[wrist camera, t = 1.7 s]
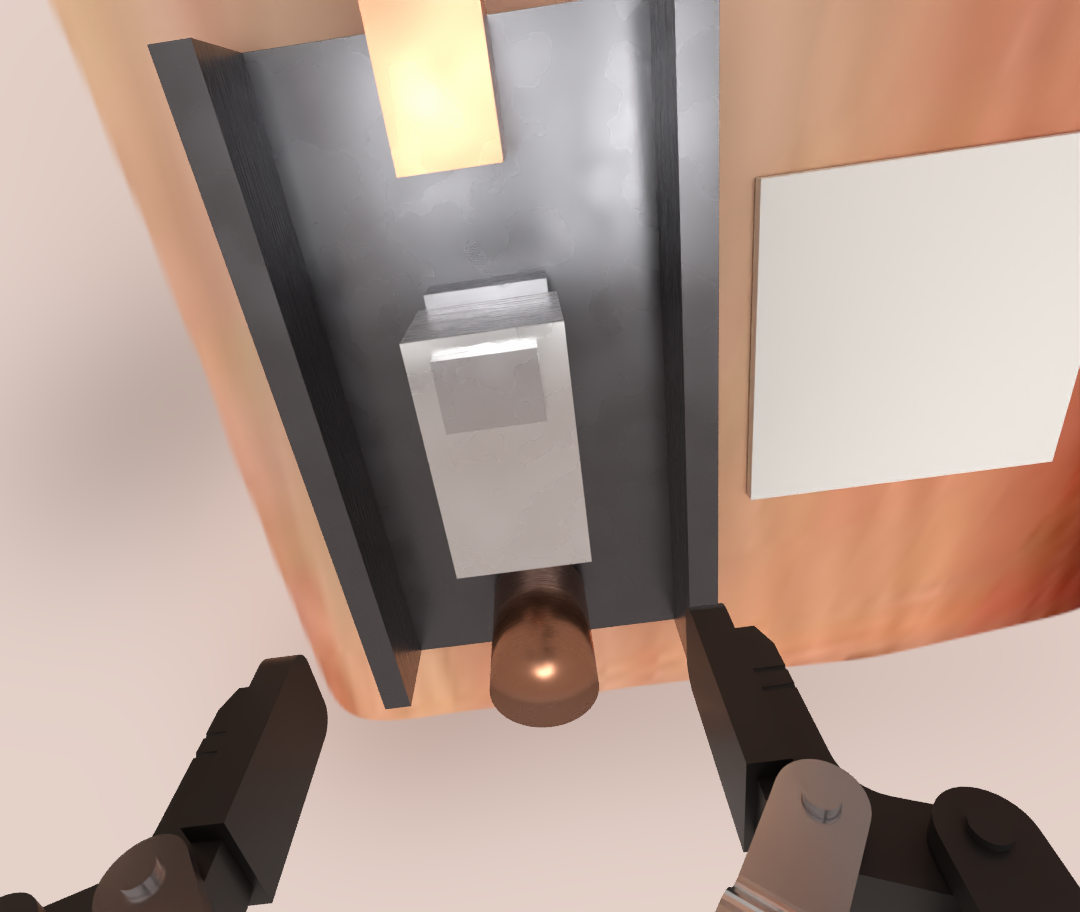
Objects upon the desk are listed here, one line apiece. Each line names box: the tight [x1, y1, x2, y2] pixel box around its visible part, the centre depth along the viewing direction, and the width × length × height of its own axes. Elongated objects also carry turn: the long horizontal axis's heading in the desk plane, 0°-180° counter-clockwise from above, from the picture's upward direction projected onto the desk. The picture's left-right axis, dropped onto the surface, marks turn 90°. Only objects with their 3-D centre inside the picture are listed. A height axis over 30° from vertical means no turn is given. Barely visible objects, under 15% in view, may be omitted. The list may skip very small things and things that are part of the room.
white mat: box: [747, 131, 1080, 500], centre depth 26 cm, size 14×14×1 cm
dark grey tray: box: [148, 0, 719, 727], centre depth 23 cm, size 26×15×8 cm, turn 8°
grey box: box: [399, 291, 592, 579], centre depth 22 cm, size 9×5×5 cm, turn 8°
